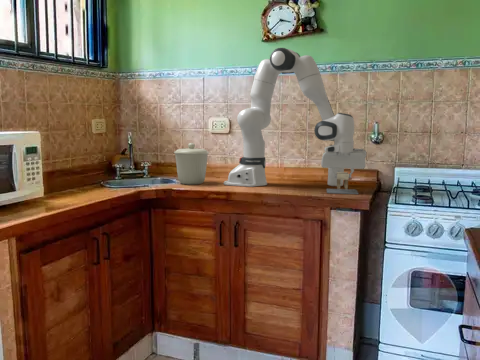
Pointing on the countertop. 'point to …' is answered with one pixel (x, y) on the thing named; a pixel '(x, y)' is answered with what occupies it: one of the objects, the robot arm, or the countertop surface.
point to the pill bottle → (331, 179)
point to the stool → (344, 177)
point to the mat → (342, 191)
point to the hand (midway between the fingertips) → (342, 177)
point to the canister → (191, 164)
